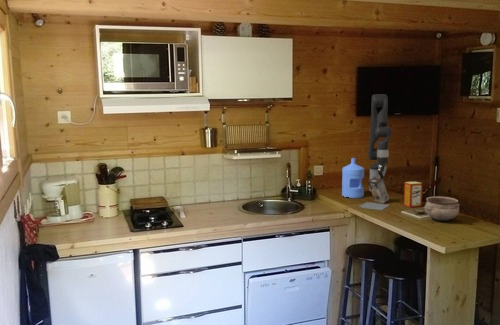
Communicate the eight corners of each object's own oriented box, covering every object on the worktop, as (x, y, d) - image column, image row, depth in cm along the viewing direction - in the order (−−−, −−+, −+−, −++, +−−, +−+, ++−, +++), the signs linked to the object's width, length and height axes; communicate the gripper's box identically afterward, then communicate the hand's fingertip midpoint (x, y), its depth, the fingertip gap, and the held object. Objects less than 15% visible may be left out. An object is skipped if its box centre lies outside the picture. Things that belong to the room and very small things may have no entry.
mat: (367, 202, 322) (367, 202, 322) (390, 205, 313) (390, 204, 313) (358, 207, 309) (358, 206, 309) (381, 210, 300) (381, 210, 300)
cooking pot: (434, 226, 264) (435, 205, 262) (413, 218, 281) (413, 198, 280) (470, 221, 272) (471, 201, 270) (446, 214, 289) (447, 194, 288)
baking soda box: (414, 204, 316) (415, 180, 314) (421, 206, 310) (422, 182, 308) (403, 205, 313) (404, 182, 310) (410, 207, 307) (411, 183, 304)
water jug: (337, 196, 343) (338, 158, 339) (350, 193, 353) (350, 156, 349) (355, 199, 332) (356, 160, 327) (368, 196, 342) (368, 158, 338)
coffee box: (374, 201, 327) (367, 181, 322) (380, 196, 329) (374, 176, 324) (382, 203, 319) (376, 183, 314) (389, 199, 321) (383, 178, 316)
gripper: (380, 154, 325) (380, 179, 328) (373, 156, 315) (373, 182, 317) (391, 155, 321) (390, 180, 324) (384, 157, 310) (384, 183, 313)
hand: (382, 181), depth 320 cm, fingers closed
